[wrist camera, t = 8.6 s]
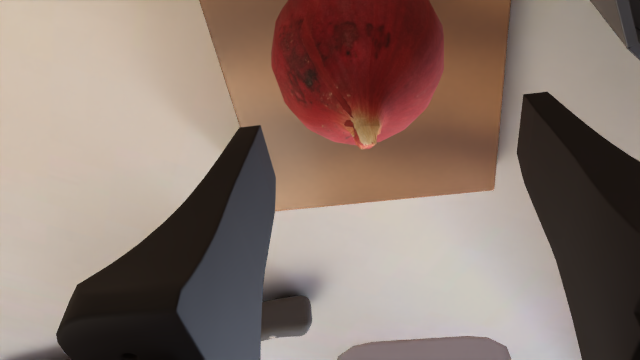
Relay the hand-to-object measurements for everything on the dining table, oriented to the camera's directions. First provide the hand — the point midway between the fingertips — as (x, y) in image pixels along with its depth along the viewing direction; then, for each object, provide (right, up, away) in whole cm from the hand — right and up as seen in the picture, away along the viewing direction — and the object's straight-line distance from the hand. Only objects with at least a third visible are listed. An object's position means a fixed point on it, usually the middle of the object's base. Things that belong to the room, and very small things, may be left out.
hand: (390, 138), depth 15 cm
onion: (-1, +6, +6) cm, 8 cm away
